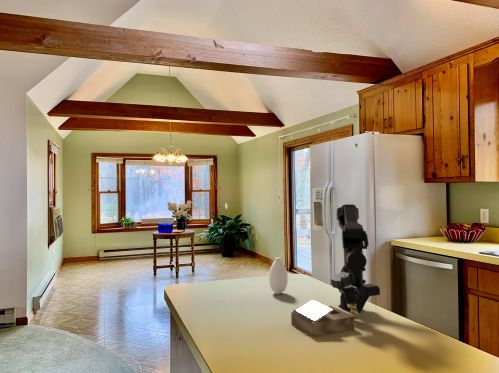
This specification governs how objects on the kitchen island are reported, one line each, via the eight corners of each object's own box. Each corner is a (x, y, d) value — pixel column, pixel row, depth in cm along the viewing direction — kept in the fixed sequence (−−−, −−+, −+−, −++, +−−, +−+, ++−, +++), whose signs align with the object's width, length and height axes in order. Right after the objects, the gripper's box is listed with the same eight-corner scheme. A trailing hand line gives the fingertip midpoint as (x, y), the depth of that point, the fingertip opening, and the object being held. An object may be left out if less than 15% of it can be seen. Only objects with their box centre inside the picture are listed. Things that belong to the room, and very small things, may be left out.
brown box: (331, 317, 131) (331, 303, 131) (354, 328, 120) (354, 313, 120) (291, 324, 124) (291, 309, 124) (311, 337, 113) (311, 320, 114)
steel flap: (313, 301, 127) (312, 300, 127) (332, 310, 117) (332, 309, 117) (296, 312, 125) (295, 310, 125) (315, 322, 115) (314, 320, 115)
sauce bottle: (266, 292, 164) (265, 251, 164) (281, 290, 167) (281, 249, 168) (274, 297, 157) (274, 253, 157) (291, 294, 160) (290, 252, 160)
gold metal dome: (355, 315, 130) (355, 301, 130) (364, 319, 126) (364, 304, 126) (344, 317, 129) (344, 303, 129) (353, 321, 124) (353, 306, 124)
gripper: (318, 261, 133) (318, 306, 133) (352, 271, 116) (353, 322, 116) (343, 259, 137) (344, 302, 137) (380, 268, 120) (381, 317, 120)
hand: (354, 310), depth 127 cm, fingers closed on gold metal dome, 5 cm apart
